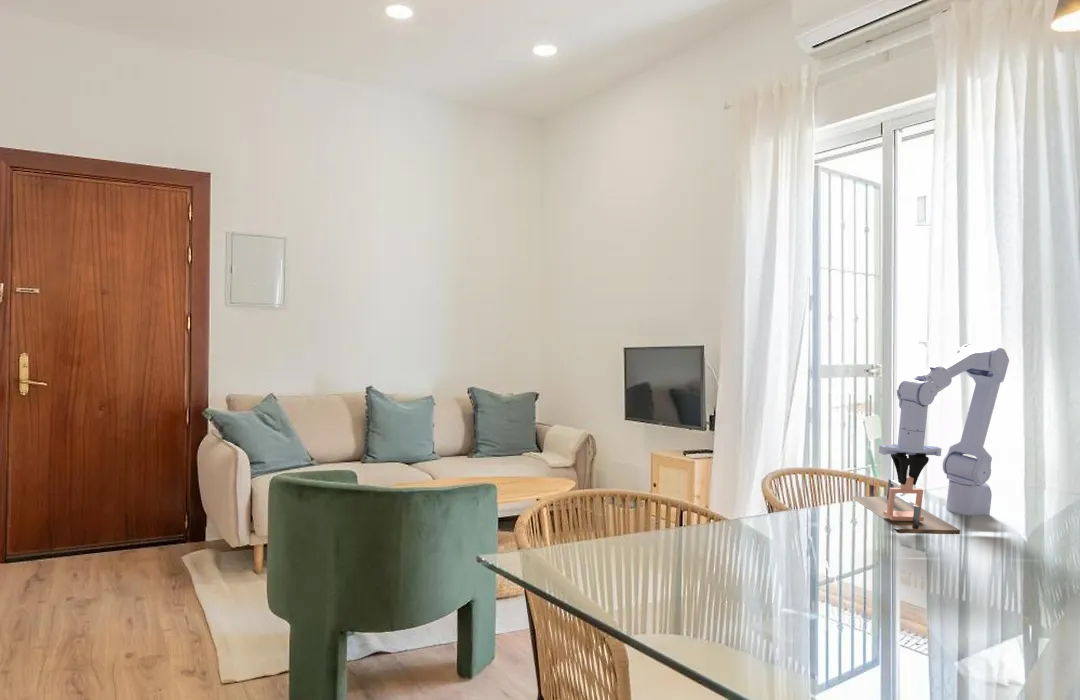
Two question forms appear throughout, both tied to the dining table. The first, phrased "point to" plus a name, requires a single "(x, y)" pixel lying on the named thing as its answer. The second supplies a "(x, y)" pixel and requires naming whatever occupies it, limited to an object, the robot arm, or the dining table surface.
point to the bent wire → (899, 496)
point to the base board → (925, 527)
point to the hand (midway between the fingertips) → (906, 483)
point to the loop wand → (904, 489)
